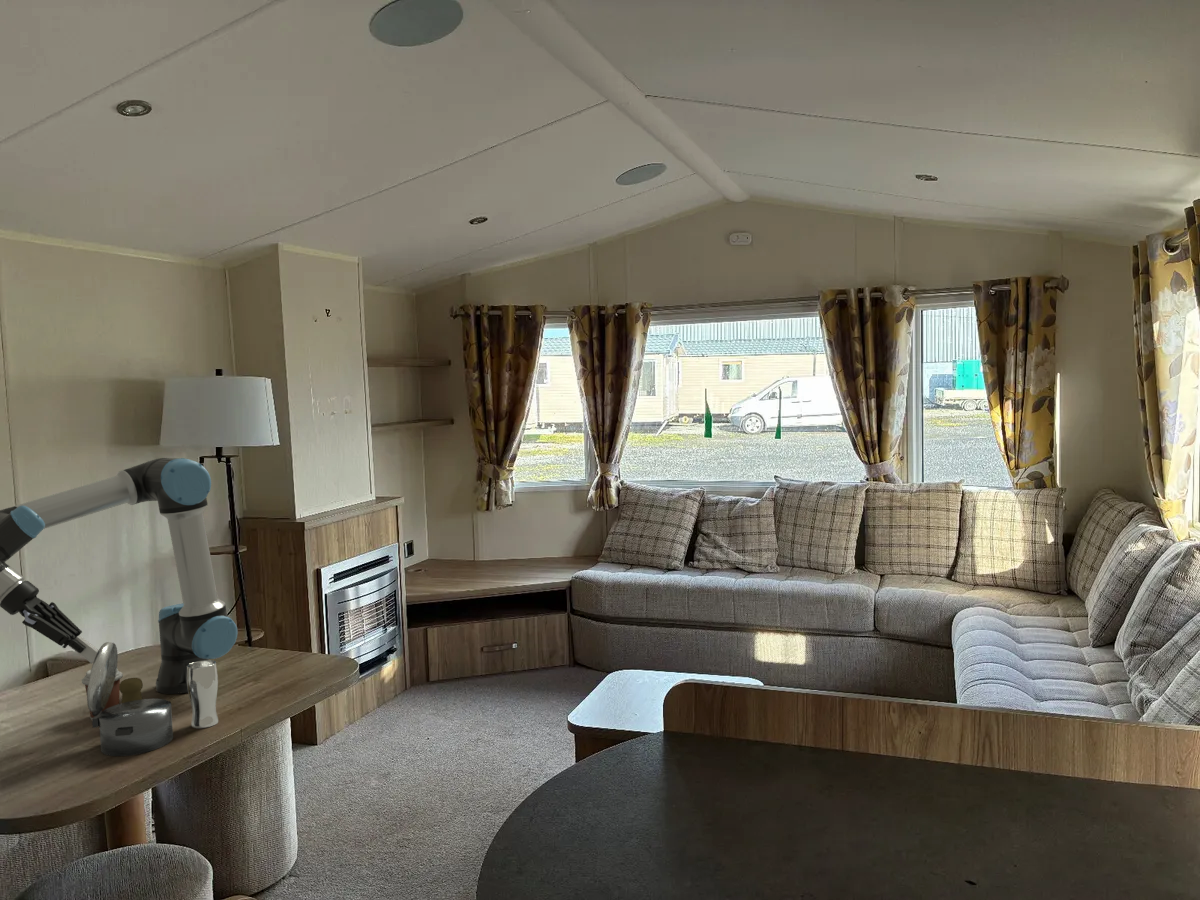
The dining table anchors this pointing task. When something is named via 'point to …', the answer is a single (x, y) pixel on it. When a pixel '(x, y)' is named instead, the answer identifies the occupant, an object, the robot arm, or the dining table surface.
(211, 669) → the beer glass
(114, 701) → the coffee cup
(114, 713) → the cooker pot
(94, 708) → the lid
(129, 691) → the cork
